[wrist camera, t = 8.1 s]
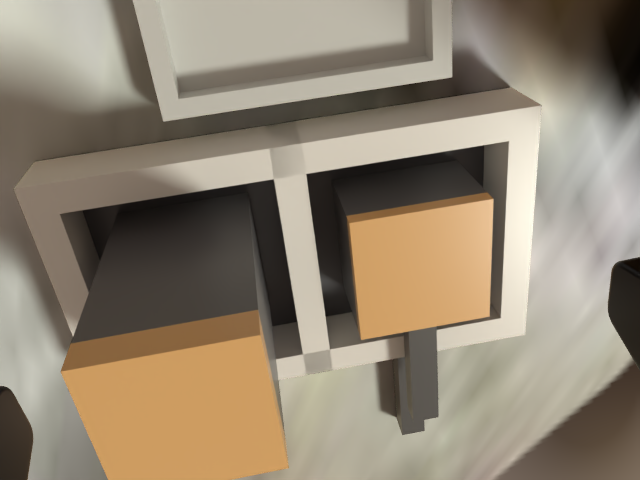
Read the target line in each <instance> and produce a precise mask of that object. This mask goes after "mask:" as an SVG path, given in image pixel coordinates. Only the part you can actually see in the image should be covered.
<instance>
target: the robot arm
mask: <svg viewBox="0 0 640 480" xmlns="http://www.w3.org/2000/svg"><path fill="white" fill-rule="evenodd" d="M608 313H609V317H610V320H611V322H612V324H613V326H614V327H615V329H616V331H617V332H618V334H619V336H620V338H621V339H622V341H623V343H624V344H625V346H626V348H627V349H628V351H629V353H630V355H631V356H632V358H633V360H634V361H635V363H636V365H637V366H638V368H639V370H640V257H638V258H633V259H628V260H623V261H619V262H617V263H616V264H615V265H614V266H613V268H612V272H611V281H610V290H609V299H608ZM32 446H33V431H32V428H31V425H30V423H29V421H28V419H27V417H26V415H25V414H24V412H23V410H22V408H21V406H20V405H19V403H18V401H17V399H16V397H15V396H14V394H13V392H12V391H11V390H10V389H9V388H7V387H4V386H0V480H27V479H28V472H29V466H30V459H31V452H32Z"/></svg>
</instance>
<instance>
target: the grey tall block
mask: <svg viewBox="0 0 640 480" xmlns="http://www.w3.org/2000/svg"><path fill="white" fill-rule="evenodd" d="M61 374H62V376H63V378H64V380H65V383H66V385H67V387H68V390H69V392H70V394H71V396H72V399H73V401H74V403H75V405H76V408H77V410H78V412H79V414H80V417H81V419H82V421H83V424H84V426H85V428H86V430H87V433H88V435H89V437H90V439H91V442H92V444H93V446H94V448H95V451H96V453H97V455H98V458H99V460H100V462H101V464H102V467H103V469H104V471H105V473H106V476H107V478H108V480H231V479H236V478H241V477H246V476H251V475H256V474H261V473H267V472H272V471H277V470H282V469H287V468H289V466H288V457H287V449H286V440H285V432H284V423H283V415H282V406H281V398H280V389H279V381H278V372H277V364H276V355H275V347H274V338H273V330H272V321H271V313H270V304H269V297H268V292H267V287H266V282H265V277H264V271H263V266H262V261H261V256H260V251H259V246H258V241H257V236H256V231H255V226H254V221H253V215H252V210H251V205H250V200H249V195H248V193H242V194H236V195H230V196H224V197H218V198H212V199H206V200H200V201H194V202H188V203H182V204H176V205H170V206H164V207H158V208H152V209H147V210H141V211H135V212H129V213H123V214H117V215H116V218H115V221H114V224H113V227H112V229H111V232H110V235H109V238H108V241H107V243H106V246H105V249H104V252H103V255H102V257H101V260H100V263H99V266H98V269H97V271H96V274H95V277H94V280H93V283H92V285H91V288H90V291H89V294H88V297H87V299H86V302H85V305H84V308H83V311H82V313H81V316H80V319H79V322H78V325H77V327H76V330H75V333H74V336H73V339H72V341H71V344H70V347H69V350H68V353H67V355H66V358H65V361H64V364H63V367H62V369H61Z"/></svg>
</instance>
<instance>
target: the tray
mask: <svg viewBox="0 0 640 480" xmlns="http://www.w3.org/2000/svg"><path fill="white" fill-rule="evenodd" d="M133 3H134V7H135V11H136V15H137V19H138V23H139V27H140V31H141V35H142V39H143V43H144V47H145V51H146V55H147V59H148V63H149V67H150V71H151V75H152V79H153V83H154V87H155V91H156V95H157V99H158V103H159V107H160V111H161V115H162V118H163V122H164V121H171V120H178V119H184V118H191V117H197V116H204V115H210V114H217V113H223V112H230V111H236V110H243V109H249V108H256V107H262V106H269V105H275V104H282V103H288V102H295V101H301V100H308V99H314V98H321V97H328V96H334V95H341V94H347V93H354V92H360V91H367V90H373V89H380V88H386V87H393V86H399V85H406V84H412V83H419V82H425V81H432V80H438V79H445V78H451V77H452V0H133Z"/></svg>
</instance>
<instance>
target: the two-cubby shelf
mask: <svg viewBox="0 0 640 480" xmlns="http://www.w3.org/2000/svg"><path fill="white" fill-rule="evenodd" d="M541 108H542V105H540V104H539V103H537V102H535V101H533V100H532V99H530V98H528V97H527V96H525V95H523V94H522V93H520V92H518V91H517V90H515V89H513V88H512V87H511V88H505V89H498V90H492V91H485V92H479V93H473V94H466V95H460V96H453V97H447V98H440V99H434V100H428V101H421V102H415V103H408V104H402V105H395V106H389V107H383V108H376V109H370V110H363V111H357V112H350V113H344V114H338V115H331V116H325V117H318V118H312V119H305V120H299V121H293V122H286V123H280V124H273V125H267V126H261V127H254V128H248V129H241V130H235V131H228V132H222V133H216V134H209V135H203V136H196V137H190V138H183V139H177V140H171V141H164V142H158V143H151V144H145V145H138V146H132V147H126V148H119V149H113V150H106V151H100V152H93V153H87V154H81V155H74V156H68V157H61V158H55V159H48V160H42V161H36V162H34V163H33V164H32V165H31V167H30V168H29V169H28V171H27V172H26V173H25V174H24V176H23V177H22V178H21V180H20V181H19V182H18V184H17V185H16V186H15V187H14V189H13V190H14V192H15V195H16V197H17V200H18V202H19V204H20V207H21V209H22V212H23V214H24V217H25V219H26V222H27V224H28V227H29V229H30V232H31V234H32V237H33V239H34V242H35V244H36V246H37V249H38V251H39V254H40V256H41V259H42V261H43V264H44V266H45V269H46V271H47V274H48V276H49V279H50V281H51V283H52V286H53V288H54V291H55V293H56V296H57V298H58V301H59V303H60V306H61V308H62V311H63V313H64V316H65V318H66V321H67V323H68V325H69V328H70V330H71V333H72V335H73V336H74V333H75V330H76V327H77V325H78V322H79V319H80V316H81V313H82V311H83V308H84V305H85V302H86V299H87V297H88V294H89V291H90V288H91V285H92V283H93V280H94V277H95V274H96V271H97V269H98V266H99V263H100V260H101V257H102V255H103V252H104V249H105V246H106V243H107V241H108V238H109V235H110V232H111V229H112V227H113V224H114V221H115V218H116V215H117V214H123V213H129V212H135V211H141V210H147V209H152V208H158V207H164V206H170V205H176V204H182V203H188V202H194V201H200V200H206V199H212V198H218V197H224V196H230V195H236V194H242V193H248V195H249V200H250V205H251V210H252V215H253V221H254V226H255V231H256V236H257V241H258V246H259V251H260V256H261V261H262V266H263V271H264V277H265V282H266V287H267V292H268V297H269V304H270V313H271V321H272V330H273V338H274V347H275V355H276V364H277V372H278V380H283V379H288V378H293V377H299V376H304V375H310V374H315V373H320V372H326V371H331V370H336V369H342V368H347V367H353V366H358V365H363V364H369V363H374V362H380V361H385V360H390V359H396V358H401V357H405V350H404V332H403V333H397V334H392V335H386V336H381V337H375V338H370V339H364V340H361V338H360V335H359V332H358V329H357V326H356V323H355V320H354V317H353V313H352V310H351V307H350V304H349V301H348V298H347V295H346V292H345V289H344V283H343V274H342V265H341V256H340V248H339V239H338V230H337V221H336V212H335V203H334V194H333V185H332V180H339V179H345V178H351V177H357V176H363V175H369V174H375V173H381V172H388V171H394V170H400V169H406V168H412V167H418V166H424V165H430V164H437V163H443V162H449V161H455V160H457V161H458V162H459V163H460V164H461V165H462V166H463V167H464V168H465V169H466V170H467V171H468V173H469V174H470V175H471V176H472V177H473V178H474V179H475V180H476V181H477V182H478V183H479V184H480V185H481V186H482V187H483V188H484V189H485V190H486V191H487V193H488V194H489V195H490V196H491V197H492V198H493V199H494V202H493V231H492V260H491V288H490V317H485V318H480V319H474V320H469V321H463V322H458V323H452V324H447V325H441V326H437V351H439V350H444V349H450V348H455V347H461V346H466V345H471V344H477V343H482V342H488V341H493V340H498V339H504V338H509V337H514V336H520V335H525V328H526V314H527V301H528V287H529V273H530V259H531V246H532V232H533V218H534V204H535V191H536V177H537V163H538V149H539V135H540V122H541Z"/></svg>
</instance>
